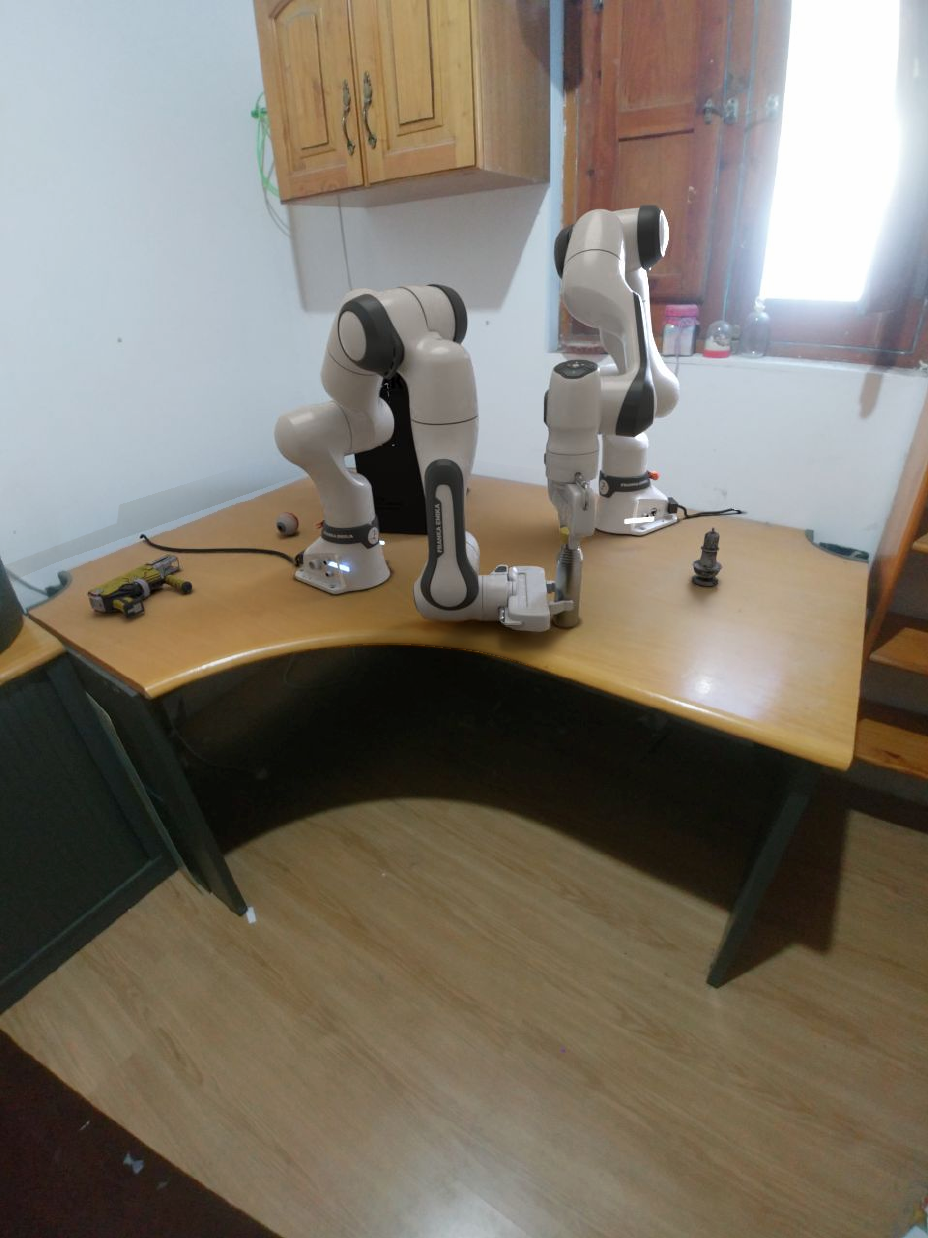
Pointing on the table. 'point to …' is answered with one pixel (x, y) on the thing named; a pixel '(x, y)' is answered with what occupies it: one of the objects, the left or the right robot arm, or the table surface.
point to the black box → (396, 468)
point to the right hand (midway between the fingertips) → (568, 541)
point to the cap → (565, 535)
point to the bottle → (568, 584)
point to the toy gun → (136, 587)
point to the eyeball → (287, 523)
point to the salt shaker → (708, 561)
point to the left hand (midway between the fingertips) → (571, 596)
